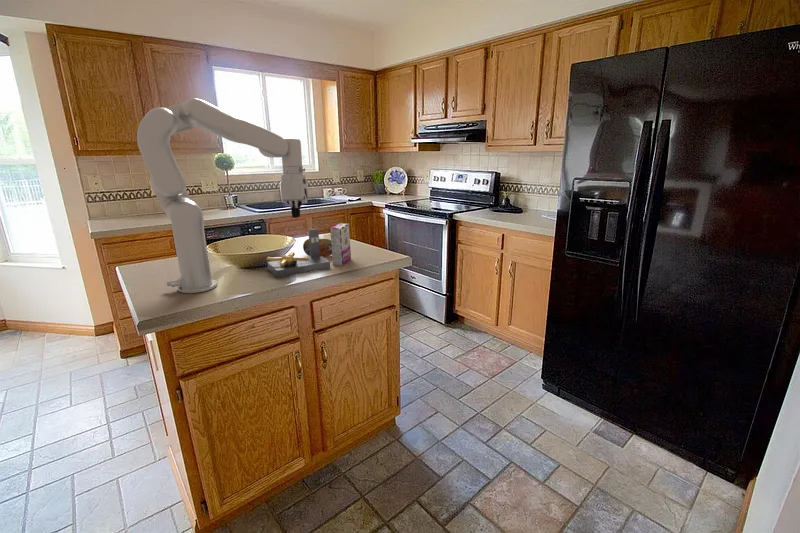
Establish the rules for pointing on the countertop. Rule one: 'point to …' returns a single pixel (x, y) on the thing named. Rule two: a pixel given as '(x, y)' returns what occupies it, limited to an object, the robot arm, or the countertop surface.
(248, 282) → the countertop surface
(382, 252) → the countertop surface
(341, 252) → the candy bar box
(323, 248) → the tin
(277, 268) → the stand
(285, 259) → the capstan
